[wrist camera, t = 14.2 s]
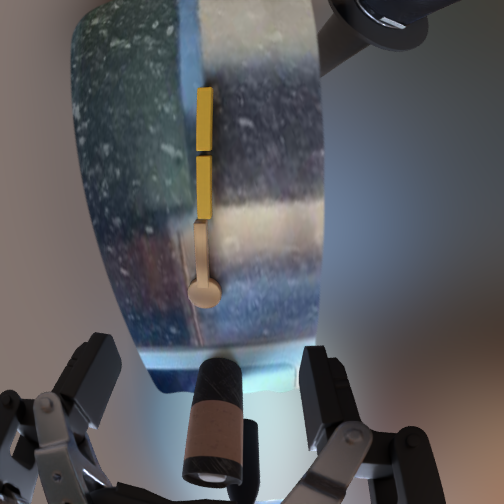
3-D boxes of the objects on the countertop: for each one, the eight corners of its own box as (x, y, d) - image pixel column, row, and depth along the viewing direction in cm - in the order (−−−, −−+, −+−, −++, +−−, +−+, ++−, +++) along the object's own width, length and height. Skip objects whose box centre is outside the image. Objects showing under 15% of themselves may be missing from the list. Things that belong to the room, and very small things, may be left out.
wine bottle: (230, 416, 49) (226, 550, 21) (261, 419, 49) (267, 550, 22) (225, 430, 51) (221, 550, 24) (254, 432, 52) (257, 551, 25)
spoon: (183, 219, 32) (180, 223, 31) (220, 219, 32) (219, 223, 31) (190, 303, 37) (188, 310, 35) (222, 304, 37) (221, 311, 36)
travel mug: (196, 354, 41) (177, 469, 23) (244, 358, 41) (245, 474, 23) (198, 383, 44) (184, 485, 26) (242, 386, 44) (241, 490, 26)
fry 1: (199, 89, 26) (197, 87, 24) (213, 89, 26) (211, 87, 25) (198, 150, 29) (196, 150, 27) (211, 149, 29) (210, 150, 27)
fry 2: (198, 155, 29) (196, 156, 28) (212, 155, 29) (210, 156, 28) (199, 215, 32) (197, 219, 30) (212, 215, 32) (210, 219, 30)
